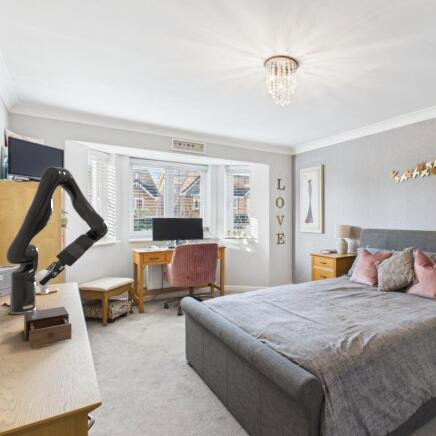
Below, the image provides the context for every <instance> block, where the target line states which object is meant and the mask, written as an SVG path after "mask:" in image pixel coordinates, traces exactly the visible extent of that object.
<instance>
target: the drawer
mask: <svg viewBox="0 0 436 436" xmlns="http://www.w3.org/2000/svg"><path fill="white" fill-rule="evenodd" d="M68 340H72V323H71V322H69V324H68V322H67V320H66V318H65V317H60V318H54V319H48V320H43V321H37V322H31V323H30V331H29V340H28V348H30V349H32V348H35V347H40V346H45V345H49V344H55V343H58V342H63V341H68Z"/></svg>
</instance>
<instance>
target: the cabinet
mask: <svg viewBox="0 0 436 436" xmlns="http://www.w3.org/2000/svg"><path fill="white" fill-rule="evenodd" d="M60 317H65V318H66V320H67V322H68V324H69V323H70V313H69V312H68V310H67V309H66V307H65V306H58V307H51V308H45V309H39V310H38V309H37V310H35V311H31V312H25V313H24V314H23V334H24V341H29V331H30V323H31V322H37V321H43V320H48V319H54V318H60Z"/></svg>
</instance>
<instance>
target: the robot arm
mask: <svg viewBox="0 0 436 436" xmlns="http://www.w3.org/2000/svg"><path fill="white" fill-rule="evenodd" d="M58 187H60V188H62V190H64V191H65V192H66V193H67V195H68V196H69V198H70V199H69V200H70V202H71V206H72V208H73V210H74V211H75V212H76V213H77V215H78V216H79V217H80V219H81V220H82V221H84V222H85V223H86V224H87V226H88V228H90V229H88V230H87V231H85V233H82V234H80V235H79V236H78V237H76V238H75V239H74V240H73V241H72V242H71V243H69V244H68V245H67V246H66V247H64V248H63V249H62V250H61V251H60V252H59V253H57V255H56V256H55V257H56V258H57V261H53V262H52V263H51V264H50V265H49V266H47V267H46V268H45V270H49V273H48V274H47V275H46V276H45V277H44V278H43V279H42V280H41V281H40V282H39V284H41V285H43V286H44V285H45V284H46V283H47V282H48V281H49V280H50V279H52V280H54V279H55V278H56V277H58V275H60V274H61V273H62V272H63V271H64V270H65V269H66V267H65V266H68V267H72V266H73V265H74V264H75V263H76V262H77V261H78V260H80V258H81V257H83V255H84V254H85V253H87V251H88V250H89V249H90V248H92V246H94V245H95V244H96V243H97V242H99V241H100V240H101V239H103V238H104V237H105V236H106V235H107V234H108V232H109V225H108V223H107V222H106V221H105V219H104V218H103V217H102V216H101V215H100V214H99V213H98V212H97V211H96V209H95V207H94V206H93V205H92V204H91V203H90V201H89V200H88V199H87V198H86V197H85V195H84V193H83V191H82V190H81V188H80V186H79V184H78V183H77V181H76V179H75V178H74V175H73V174H72V173H71V171H70V170H69V169H67V168H64V167H58V166H48V167H46V168H45V169H44V170H43V171H42V172H41V175H40V178H39V183H38V186H37V189H36V191H35V194H34V197H33V199H32V201H31V204H30V205H29V208H28V210H27V212H26V214H25V216H24V219H23V221H22V223H21V224H20V228H19V230H18V232H17V234H16V235H15V237H14V238H13V240H12V242H11V243H10V245H9V247H8V248H7V250H6V255H5V257H6V261H7V262H8V263H9V264H10V265H19V266H18V267H17V268H16V269H14V270H13V271H11V274H10V294H9V296H10V297H9V298H10V299H9V301H10V302H9V304H8V303H7V302H4V303H3V304H2V306H4V307H6V308H9V309H10V310H9V311H10V312H9V313H10V314H11V315H24V313H25V312H31V311H37V308H36V307H37V306H36V304H37V303H36V302H37V301H36V299H37V298H36V297H37V296H36V295H37V293H36V292H37V291H36V290H37V289H36V287H37V282H36V280H35V275H36V274H37V272H38V269H39V250H38V247H37V246H36V245H35V244H32V243H31V242H32V241H33V239H35V237H36V236H37V235H38V234H39V233H41V232H42V231H43V230H44V229H45V228H46V227H47V226H48V224H49V222H50V220H51V218H52V216H53V213H54V207H53V196H54V194H55V191H56V189H57V188H58ZM39 284H38V285H39Z"/></svg>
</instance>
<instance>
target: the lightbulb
mask: <svg viewBox="0 0 436 436" xmlns="http://www.w3.org/2000/svg"><path fill="white" fill-rule="evenodd" d="M48 273H49V270H46V269H41V270H39V271H37V272H36V275H35V280H36V284H38V286H39V289H40V295H43V296H45V295H47V294H49V287H50V283H51V282H52V280H53V279H50V280H49V281H48V282H47V283H46V284H45V285H44V286H43V285H41V284H39V282H40V281H41V280H42V279H43V278H44V277H45V276H46V275H47V274H48Z"/></svg>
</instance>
